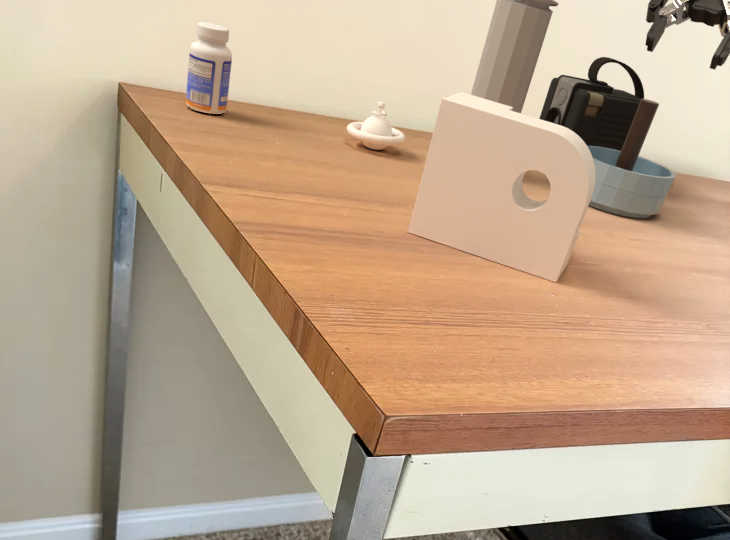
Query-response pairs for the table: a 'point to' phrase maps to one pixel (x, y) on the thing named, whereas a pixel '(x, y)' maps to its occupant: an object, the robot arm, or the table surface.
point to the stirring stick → (637, 134)
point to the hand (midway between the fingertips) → (681, 55)
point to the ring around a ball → (376, 131)
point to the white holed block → (503, 186)
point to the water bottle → (512, 51)
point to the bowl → (629, 185)
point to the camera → (593, 106)
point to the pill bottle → (209, 69)
